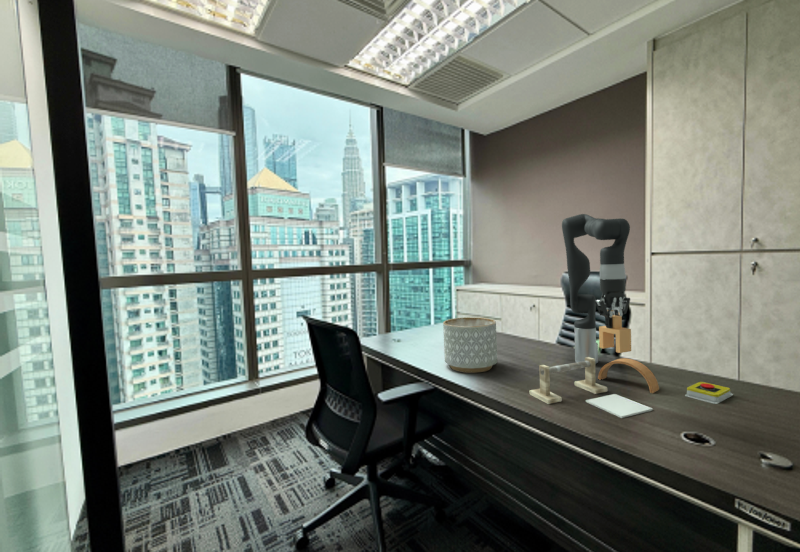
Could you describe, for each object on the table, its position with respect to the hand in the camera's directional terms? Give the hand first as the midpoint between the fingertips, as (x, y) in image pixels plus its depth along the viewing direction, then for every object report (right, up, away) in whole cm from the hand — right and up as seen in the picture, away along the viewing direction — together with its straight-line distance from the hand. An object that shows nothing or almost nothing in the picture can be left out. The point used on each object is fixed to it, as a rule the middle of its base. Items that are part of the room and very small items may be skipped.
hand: (613, 327), depth 120 cm
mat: (+2, -27, +1) cm, 28 cm away
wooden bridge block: (0, -8, 0) cm, 8 cm away
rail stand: (-9, -27, +14) cm, 32 cm away
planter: (-38, -27, +53) cm, 71 cm away
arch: (+18, -26, +20) cm, 37 cm away
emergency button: (+39, -26, +6) cm, 47 cm away
